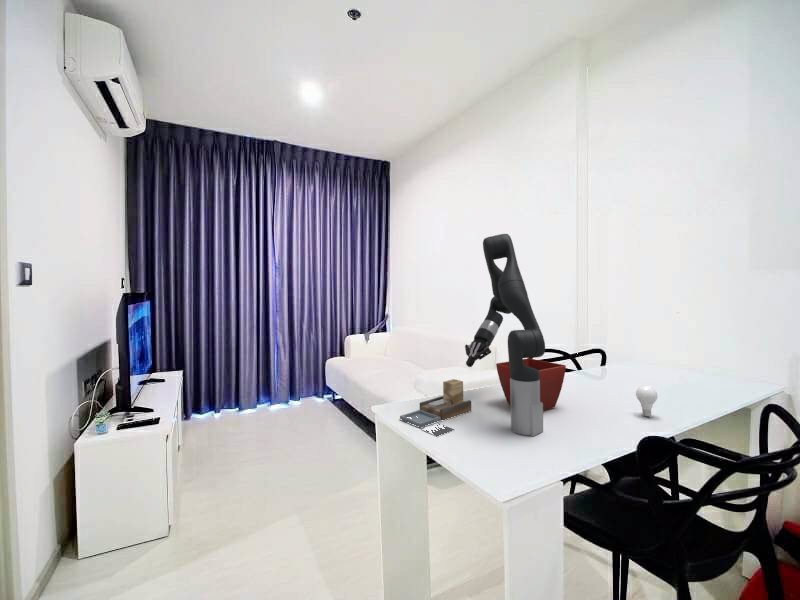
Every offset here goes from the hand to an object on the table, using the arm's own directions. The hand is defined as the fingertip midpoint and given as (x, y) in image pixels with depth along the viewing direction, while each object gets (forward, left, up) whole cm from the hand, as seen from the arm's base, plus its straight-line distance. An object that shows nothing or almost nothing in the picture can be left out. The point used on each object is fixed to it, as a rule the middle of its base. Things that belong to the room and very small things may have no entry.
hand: (468, 365), depth 148 cm
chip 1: (0, +19, -13) cm, 23 cm away
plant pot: (-19, -15, -16) cm, 29 cm away
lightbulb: (-53, -34, -16) cm, 65 cm away
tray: (0, +27, -16) cm, 31 cm away
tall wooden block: (0, +9, -13) cm, 16 cm away
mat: (-11, +29, -16) cm, 35 cm away
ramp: (0, +14, -16) cm, 21 cm away
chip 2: (0, +15, -13) cm, 20 cm away
